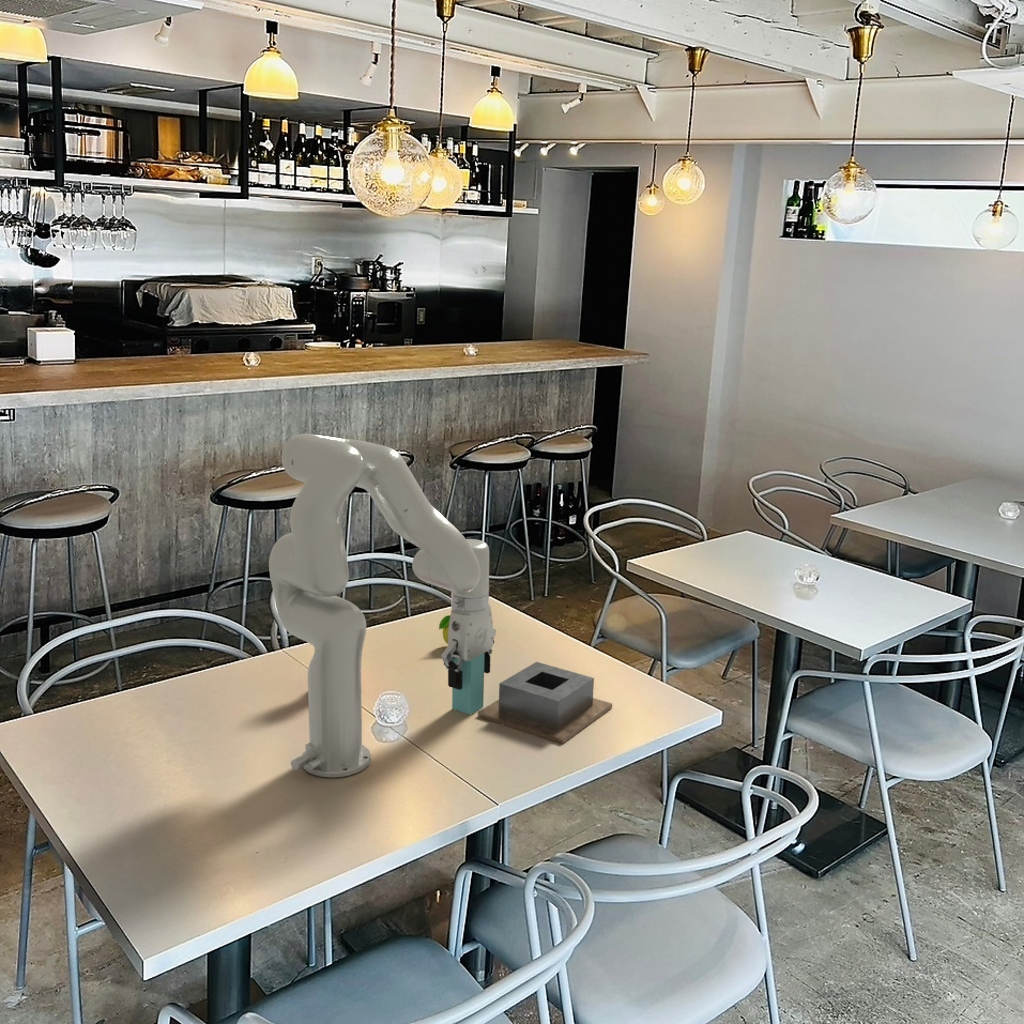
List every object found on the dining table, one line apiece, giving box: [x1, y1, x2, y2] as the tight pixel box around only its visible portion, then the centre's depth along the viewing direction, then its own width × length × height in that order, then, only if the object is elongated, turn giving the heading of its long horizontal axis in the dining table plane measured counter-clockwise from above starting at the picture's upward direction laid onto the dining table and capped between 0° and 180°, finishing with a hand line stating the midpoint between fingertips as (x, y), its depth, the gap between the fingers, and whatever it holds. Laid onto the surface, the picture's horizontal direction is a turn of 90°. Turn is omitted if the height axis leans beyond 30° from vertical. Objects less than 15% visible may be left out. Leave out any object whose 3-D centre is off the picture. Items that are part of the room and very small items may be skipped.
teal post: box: [451, 653, 485, 716], centre depth 217 cm, size 5×5×12 cm
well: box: [477, 661, 613, 745], centre depth 217 cm, size 20×20×7 cm
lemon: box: [438, 614, 451, 645], centre depth 249 cm, size 7×6×10 cm
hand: (469, 679), depth 217 cm, fingers open, 9 cm apart
